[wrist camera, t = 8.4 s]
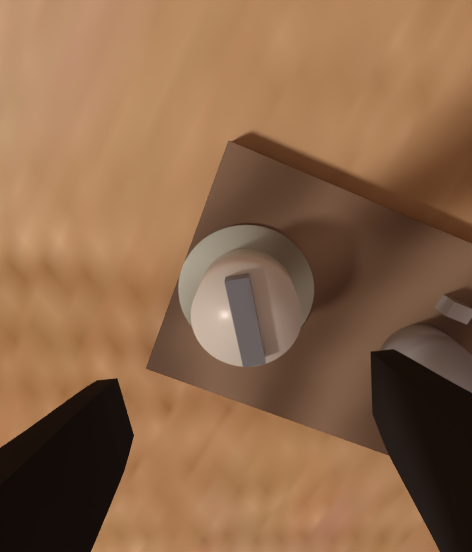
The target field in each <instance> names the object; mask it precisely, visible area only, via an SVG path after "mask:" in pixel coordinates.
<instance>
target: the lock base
mask: <svg viewBox="0 0 472 552" xmlns="http://www.w3.org/2000/svg"><path fill="white" fill-rule="evenodd" d="M243 248H248V249H257V250H260V251H264V252H266V253H268V254H270V255H272V256H274V257H275V258H276V259H277V260H279V261H280V262H281V263H282V264H283V266H284V267H285V268H286V270H287V271H288V273H289V275H290V278H291V280H292V283H293V285H294V288H295V291H296V293H297V296H298V298H299V301H300V304H301V309H302V324H301V328H300V331H299V334H298V336H297V338H296V340H295V342H294V343H293V345H292V346H291V347H290V348H289V349H288V350H287V352H285V353H284V354H283V355H282V356H280V357H279V358H277V359H276V360H274V361H271V362H269V363H266V364H264V365H259V366H252V367H245V368H243V367H241V366H234V365H230V364H227V363H224V362H222V361H220V360H218V359H216V358H215V357H213V356H212V355H210V354H209V353H208V352H207V351H206V350H205V349H204V348H203V347H202V346H201V344H200V343H199V341H198V340H197V338H196V336H195V334H194V331H193V328H192V324H191V307H192V303H193V300H194V297H195V295H196V292H197V290H198V288H199V285H200V283H201V280H202V278H203V276H204V273H205V272H206V270H207V268H208V267H209V266H210V264H211V263H212V262H213V261H214V260H216V259H217V258H218V257H220V256H221V255H223V254H225V253H227V252H229V251H232V250H236V249H243ZM390 349H394V350H396V351H398V352H400V353H402V354H404V355H406V356H407V357H409V358H411V359H413V360H414V361H416V362H418V363H420V364H421V365H423V366H425V367H426V368H428V369H430V370H432V371H433V372H435V373H437V374H439V375H440V376H442V377H444V378H446V379H447V380H449V381H451V382H453V383H455V384H456V385H458V386H460V387H462V388H464V389H465V390H467V391H469V392H472V243H469V242H467V241H464V240H462V239H460V238H457V237H455V236H453V235H450V234H448V233H446V232H443V231H441V230H439V229H436V228H434V227H431V226H429V225H427V224H424V223H422V222H420V221H417V220H415V219H413V218H410V217H408V216H405V215H403V214H401V213H398V212H396V211H394V210H391V209H389V208H387V207H384V206H382V205H380V204H377V203H375V202H372V201H370V200H368V199H365V198H363V197H361V196H358V195H356V194H354V193H351V192H349V191H347V190H344V189H342V188H339V187H337V186H335V185H332V184H330V183H328V182H325V181H323V180H321V179H318V178H316V177H314V176H311V175H309V174H306V173H304V172H302V171H299V170H297V169H295V168H292V167H290V166H288V165H285V164H283V163H280V162H278V161H276V160H273V159H271V158H269V157H266V156H264V155H262V154H259V153H257V152H255V151H252V150H250V149H247V148H245V147H243V146H240V145H238V144H236V143H233V142H231V141H228V143H227V146H226V149H225V152H224V154H223V157H222V160H221V163H220V165H219V168H218V171H217V174H216V176H215V179H214V182H213V185H212V187H211V190H210V193H209V196H208V198H207V201H206V204H205V207H204V210H203V212H202V215H201V218H200V221H199V223H198V226H197V229H196V232H195V234H194V237H193V240H192V243H191V245H190V248H189V251H188V254H187V256H186V259H185V262H184V265H183V267H182V270H181V273H180V276H179V279H178V281H177V284H176V287H175V290H174V292H173V295H172V298H171V301H170V303H169V306H168V309H167V312H166V314H165V317H164V320H163V323H162V325H161V328H160V331H159V334H158V336H157V339H156V342H155V345H154V348H153V350H152V353H151V356H150V359H149V361H148V364H147V367H146V369H149V370H151V371H154V372H157V373H160V374H163V375H165V376H168V377H171V378H174V379H177V380H179V381H182V382H185V383H188V384H191V385H193V386H196V387H199V388H202V389H204V390H207V391H210V392H213V393H216V394H218V395H221V396H224V397H227V398H230V399H232V400H235V401H238V402H241V403H244V404H246V405H249V406H252V407H255V408H258V409H260V410H263V411H266V412H269V413H272V414H274V415H277V416H280V417H283V418H286V419H288V420H291V421H294V422H297V423H300V424H302V425H305V426H308V427H311V428H314V429H316V430H319V431H322V432H325V433H328V434H330V435H333V436H336V437H339V438H342V439H344V440H347V441H350V442H353V443H356V444H358V445H361V446H364V447H367V448H370V449H372V450H375V451H378V452H381V453H384V454H386V455H389V454H388V452H387V450H386V448H385V445H384V443H383V440H382V438H381V435H380V433H379V430H378V427H377V425H376V422H375V419H374V417H373V414H372V387H371V354H370V352H371V351H380V350H390Z"/></svg>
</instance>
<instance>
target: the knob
mask: <svg viewBox="0 0 472 552" xmlns="http://www.w3.org/2000/svg"><path fill="white" fill-rule="evenodd" d="M191 324H192V328H193V331H194V334H195V336H196V338H197V340H198V341H199V343H200V344H201V346H202V347H203V348H204V349H205V350H206V351H207V352H208V353H209V354H210V355H212V356H213V357H215V358H216V359H218V360H220V361H222V362H224V363H227V364H230V365H234V366H241V367H243V368H245V367H252V366H259V365H264V364H266V363H269V362H271V361H274V360H276V359H277V358H279V357H280V356H282V355H283V354H284V353H285V352H287V350H288V349H289V348H290V347H291V346H292V345H293V343H294V342H295V340H296V338H297V336H298V334H299V331H300V328H301V324H302V309H301V304H300V301H299V298H298V296H297V293H296V291H295V288H294V285H293V283H292V280H291V278H290V275H289V273H288V271H287V270H286V268H285V267H284V266H283V264H282V263H281V262H280V261H279V260H277V259H276V258H275V257H274V256H272V255H270V254H268V253H266V252H264V251H260V250H257V249H248V248H243V249H236V250H232V251H229V252H227V253H225V254H223V255H221V256H220V257H218V258H217V259H216V260H214V261H213V262H212V263H211V264H210V266H209V267H208V268H207V270H206V272H205V273H204V276H203V278H202V280H201V283H200V285H199V288H198V290H197V292H196V295H195V297H194V300H193V303H192V307H191Z"/></svg>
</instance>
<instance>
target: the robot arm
mask: <svg viewBox="0 0 472 552" xmlns="http://www.w3.org/2000/svg"><path fill="white" fill-rule="evenodd" d="M370 354H371V387H372V414H373V417H374V419H375V422H376V425H377V427H378V430H379V433H380V435H381V438H382V440H383V443H384V445H385V448H386V450H387V452H388V454H389V456H390V458H391V460H392V462H393V464H394V465H395V467H396V469H397V471H398V473H399V475H400V477H401V479H402V481H403V482H404V484H405V486H406V488H407V490H408V492H409V494H410V496H411V497H412V499H413V501H414V503H415V505H416V507H417V509H418V511H419V512H420V514H421V516H422V518H423V520H424V522H425V524H426V526H427V527H428V529H429V531H430V533H431V535H432V537H433V539H434V541H435V543H436V545H437V547H438V549H439V551H440V552H472V393H471V392H469V391H467V390H465V389H464V388H462V387H460V386H458V385H456V384H455V383H453V382H451V381H449V380H447V379H446V378H444V377H442V376H440V375H439V374H437V373H435V372H433V371H432V370H430V369H428V368H426V367H425V366H423V365H421V364H420V363H418V362H416V361H414V360H413V359H411V358H409V357H407V356H406V355H404V354H402V353H400V352H398V351H396V350H394V349H390V350H380V351H371V352H370ZM133 437H134V434H133V431H132V427H131V424H130V421H129V417H128V414H127V410H126V407H125V403H124V400H123V396H122V393H121V390H120V386H119V383H118V379H117V378H116V379H107V380H97V381H96V382H94V383H92V384H91V385H89V386H87V387H86V388H84V389H83V390H81V391H80V392H79V393H77V394H76V395H74V396H73V397H71V398H70V399H69V400H67V401H66V402H65V403H63V404H62V405H60V406H59V407H58V408H56V409H55V410H53V411H52V412H51V413H49V414H48V415H47V416H45V417H44V418H42V419H41V420H40V421H38V422H37V423H36V424H34V425H33V426H31V427H30V428H29V429H27V430H26V431H24V432H23V433H21V434H20V435H18V436H17V437H15V438H14V439H13V440H11V441H10V442H8V443H7V444H5V445H4V446H2V447H1V448H0V552H91V550H92V548H93V545H94V543H95V541H96V538H97V536H98V533H99V531H100V529H101V526H102V524H103V521H104V519H105V517H106V514H107V512H108V509H109V507H110V505H111V502H112V500H113V497H114V495H115V492H116V490H117V488H118V485H119V483H120V480H121V478H122V475H123V473H124V470H125V466H126V463H127V459H128V456H129V452H130V448H131V444H132V441H133Z"/></svg>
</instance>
